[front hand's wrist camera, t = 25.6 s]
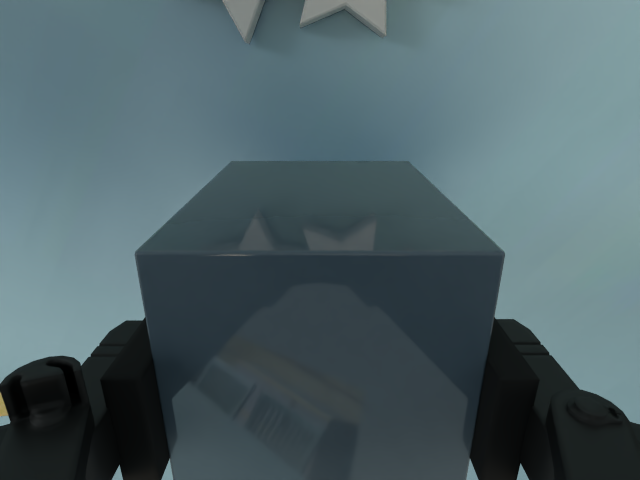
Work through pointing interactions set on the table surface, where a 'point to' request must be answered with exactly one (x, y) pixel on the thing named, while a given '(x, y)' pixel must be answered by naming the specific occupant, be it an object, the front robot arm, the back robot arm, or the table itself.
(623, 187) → the table surface
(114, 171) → the table surface
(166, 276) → the grey rectangular block
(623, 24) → the table surface
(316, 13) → the decorative wreath
